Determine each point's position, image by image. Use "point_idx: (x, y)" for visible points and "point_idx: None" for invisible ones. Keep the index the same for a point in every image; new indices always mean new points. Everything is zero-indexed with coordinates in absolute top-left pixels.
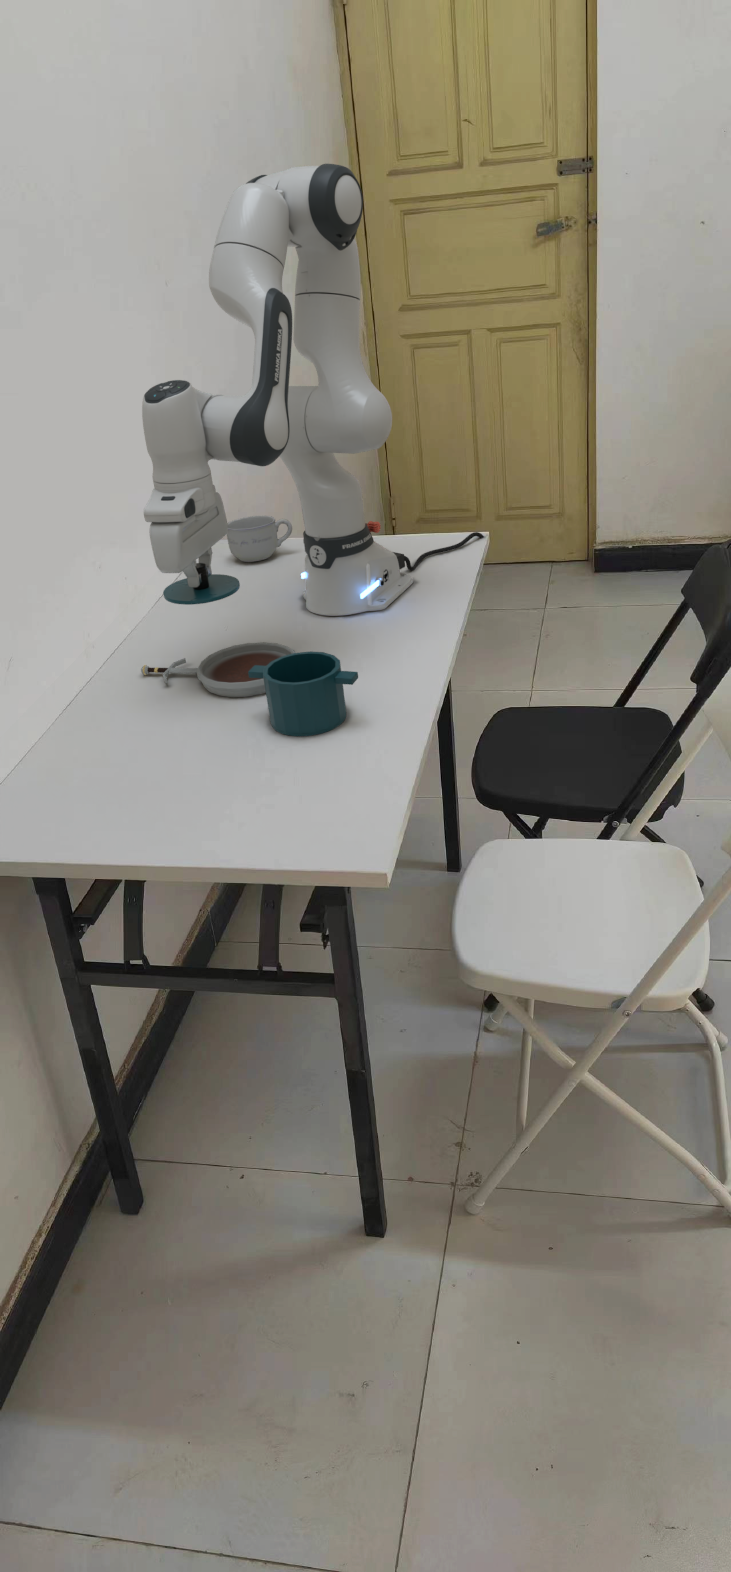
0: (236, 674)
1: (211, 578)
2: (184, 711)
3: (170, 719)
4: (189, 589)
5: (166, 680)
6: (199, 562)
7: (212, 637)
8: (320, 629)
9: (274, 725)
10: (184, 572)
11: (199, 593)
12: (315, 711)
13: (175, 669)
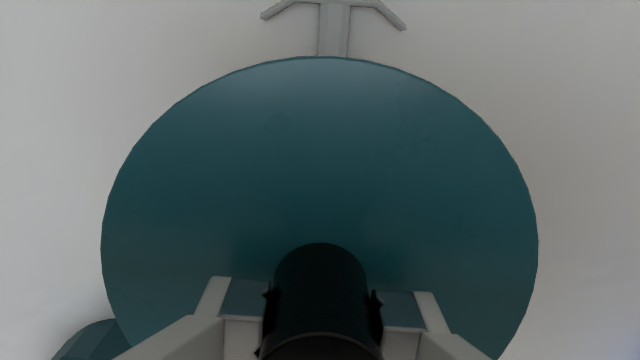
0: None
1: (461, 294)
2: (126, 121)
3: (80, 99)
4: (284, 229)
5: (262, 18)
6: (440, 353)
7: (601, 45)
8: (575, 316)
9: (69, 340)
10: (148, 344)
11: None
12: None
13: (329, 24)
